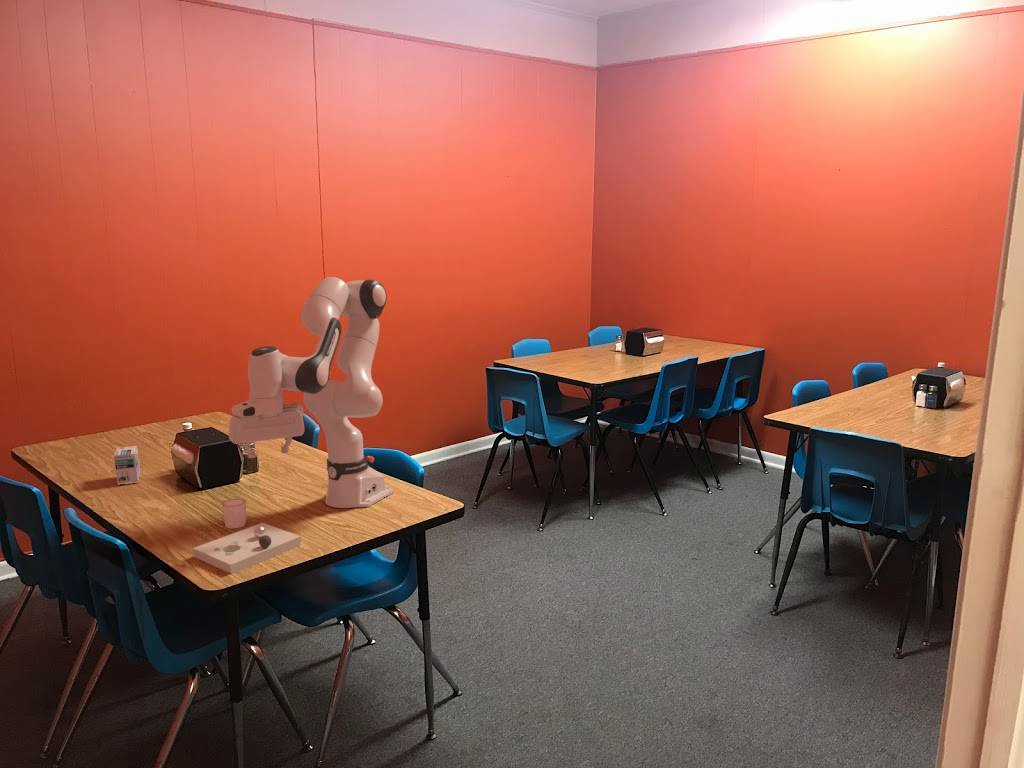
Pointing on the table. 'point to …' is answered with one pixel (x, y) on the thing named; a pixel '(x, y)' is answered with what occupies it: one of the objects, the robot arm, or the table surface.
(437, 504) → the table surface
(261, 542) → the black rubber ball
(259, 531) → the steel ball
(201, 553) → the board
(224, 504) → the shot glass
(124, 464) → the light bulb box
